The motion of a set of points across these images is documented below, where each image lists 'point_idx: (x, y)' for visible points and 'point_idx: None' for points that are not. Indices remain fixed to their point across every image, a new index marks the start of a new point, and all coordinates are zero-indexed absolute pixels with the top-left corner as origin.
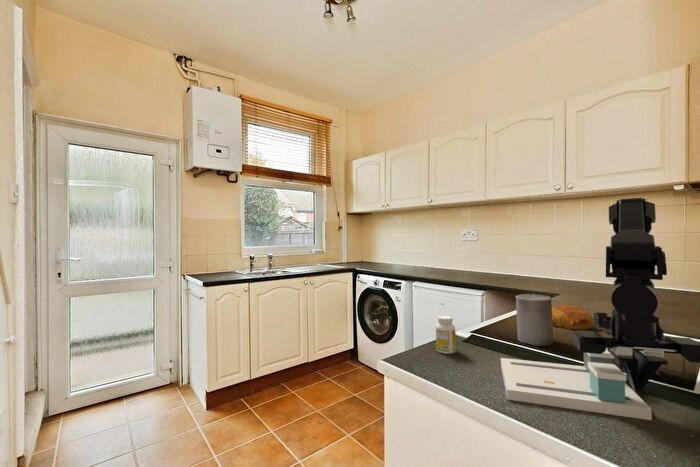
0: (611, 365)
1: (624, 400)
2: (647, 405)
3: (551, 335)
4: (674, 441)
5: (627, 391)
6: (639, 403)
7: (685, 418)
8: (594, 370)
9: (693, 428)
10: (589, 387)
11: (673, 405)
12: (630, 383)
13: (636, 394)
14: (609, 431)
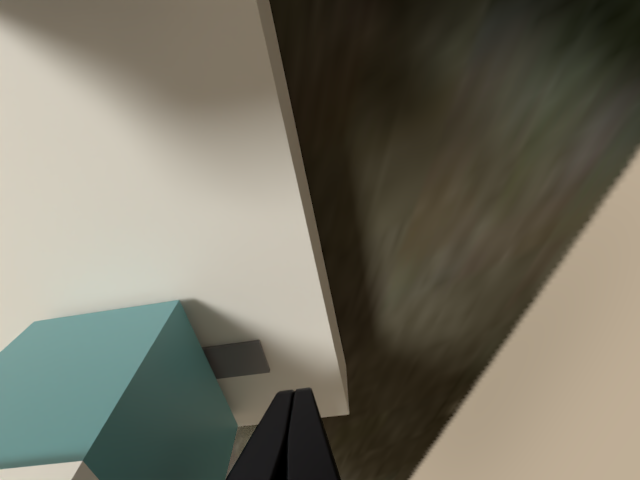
0: None
1: (231, 436)
2: (341, 387)
3: None
4: (376, 456)
5: (262, 248)
6: (306, 384)
7: (511, 283)
8: None
9: (490, 359)
10: (31, 295)
11: (544, 126)
12: (255, 436)
13: (314, 270)
14: None
